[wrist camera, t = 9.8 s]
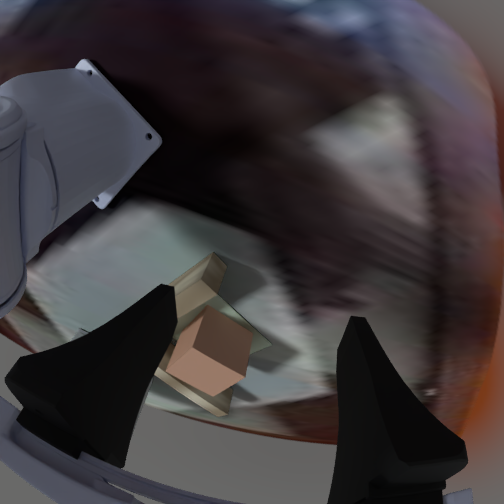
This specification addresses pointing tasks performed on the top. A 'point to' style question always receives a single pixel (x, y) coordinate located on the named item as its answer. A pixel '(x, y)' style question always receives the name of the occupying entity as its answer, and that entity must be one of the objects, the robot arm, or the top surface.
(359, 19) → the top surface
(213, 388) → the cube
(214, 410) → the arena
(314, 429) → the top surface
